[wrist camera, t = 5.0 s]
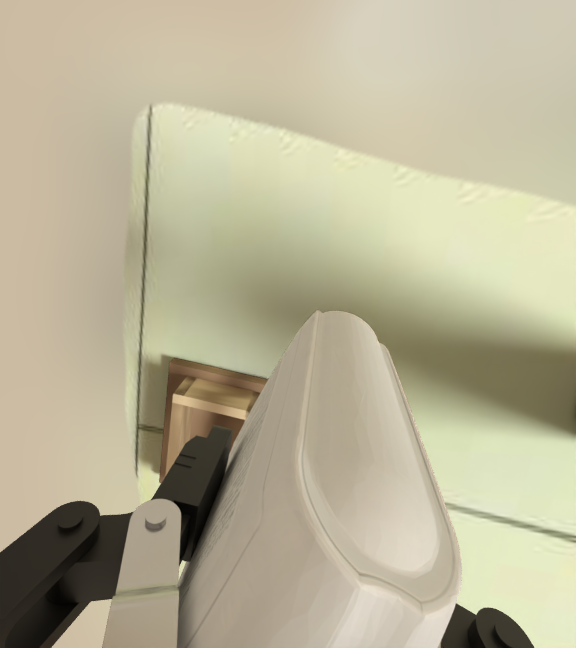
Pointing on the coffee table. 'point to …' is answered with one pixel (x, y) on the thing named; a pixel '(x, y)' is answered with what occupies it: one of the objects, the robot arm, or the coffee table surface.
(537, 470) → the coffee table surface
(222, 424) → the brown wooden frame
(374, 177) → the coffee table surface
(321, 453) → the white game console
